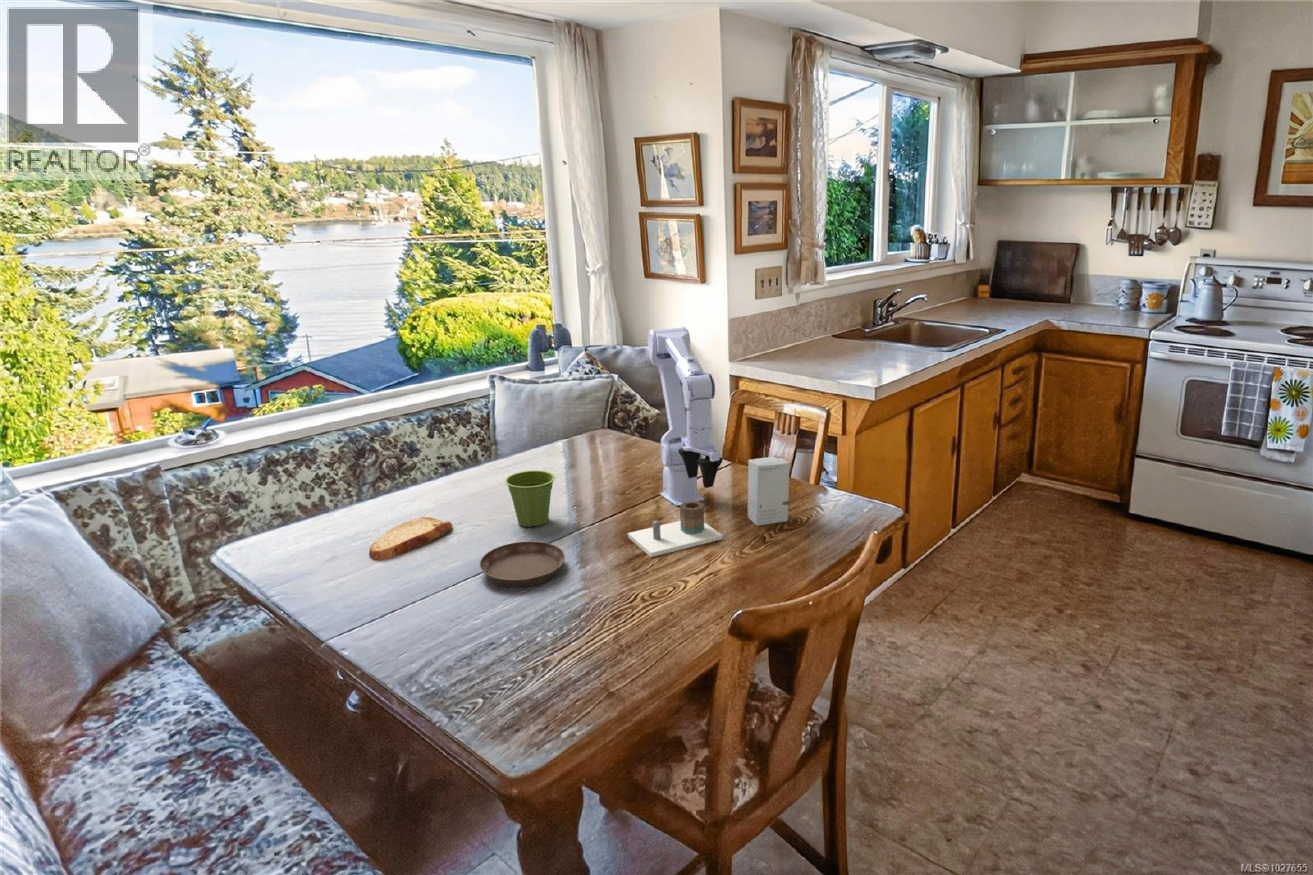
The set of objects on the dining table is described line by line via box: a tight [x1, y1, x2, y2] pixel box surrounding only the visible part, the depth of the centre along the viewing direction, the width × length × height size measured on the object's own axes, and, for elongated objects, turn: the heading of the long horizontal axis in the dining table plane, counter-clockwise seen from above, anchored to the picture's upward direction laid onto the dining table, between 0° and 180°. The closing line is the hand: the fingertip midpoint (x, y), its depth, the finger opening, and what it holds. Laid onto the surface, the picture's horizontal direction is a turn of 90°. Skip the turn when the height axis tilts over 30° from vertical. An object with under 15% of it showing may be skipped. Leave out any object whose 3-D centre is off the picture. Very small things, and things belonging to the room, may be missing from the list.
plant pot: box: [504, 469, 556, 528], centre depth 187 cm, size 12×12×11 cm
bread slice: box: [368, 516, 453, 562], centre depth 180 cm, size 18×18×4 cm
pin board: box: [627, 520, 724, 558], centre depth 176 cm, size 12×18×5 cm, turn 116°
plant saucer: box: [479, 540, 566, 588], centre depth 164 cm, size 18×18×3 cm
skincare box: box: [747, 456, 790, 527], centre depth 183 cm, size 8×6×15 cm
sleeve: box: [679, 501, 705, 535], centre depth 178 cm, size 5×5×6 cm
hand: (700, 481), depth 183 cm, fingers open, 7 cm apart
